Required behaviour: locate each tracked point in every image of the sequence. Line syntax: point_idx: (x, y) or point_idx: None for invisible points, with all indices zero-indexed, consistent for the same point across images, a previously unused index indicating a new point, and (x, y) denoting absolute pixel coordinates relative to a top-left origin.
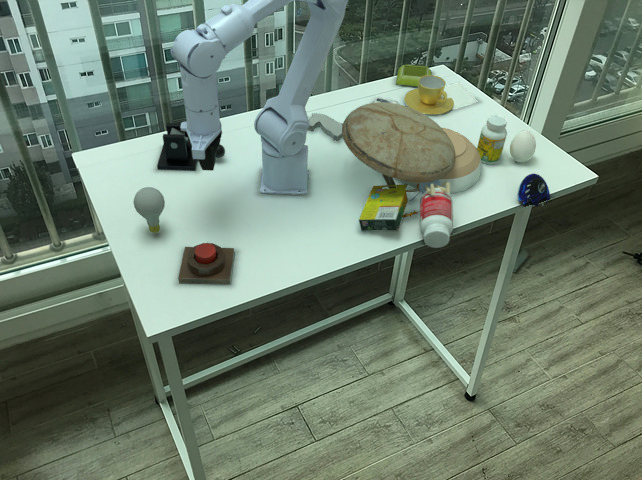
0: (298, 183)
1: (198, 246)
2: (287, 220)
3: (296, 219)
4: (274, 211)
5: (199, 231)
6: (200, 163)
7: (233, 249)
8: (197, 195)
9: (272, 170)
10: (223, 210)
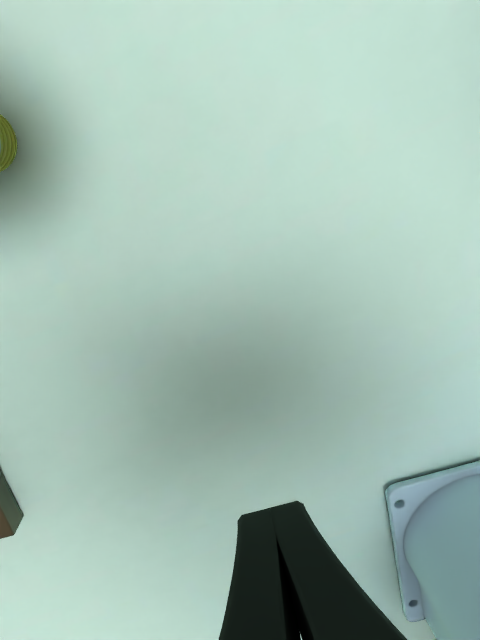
0: (437, 627)
1: None
2: None
3: None
4: None
5: (85, 348)
6: (233, 582)
7: (4, 537)
8: (323, 244)
9: (461, 621)
10: (250, 391)
